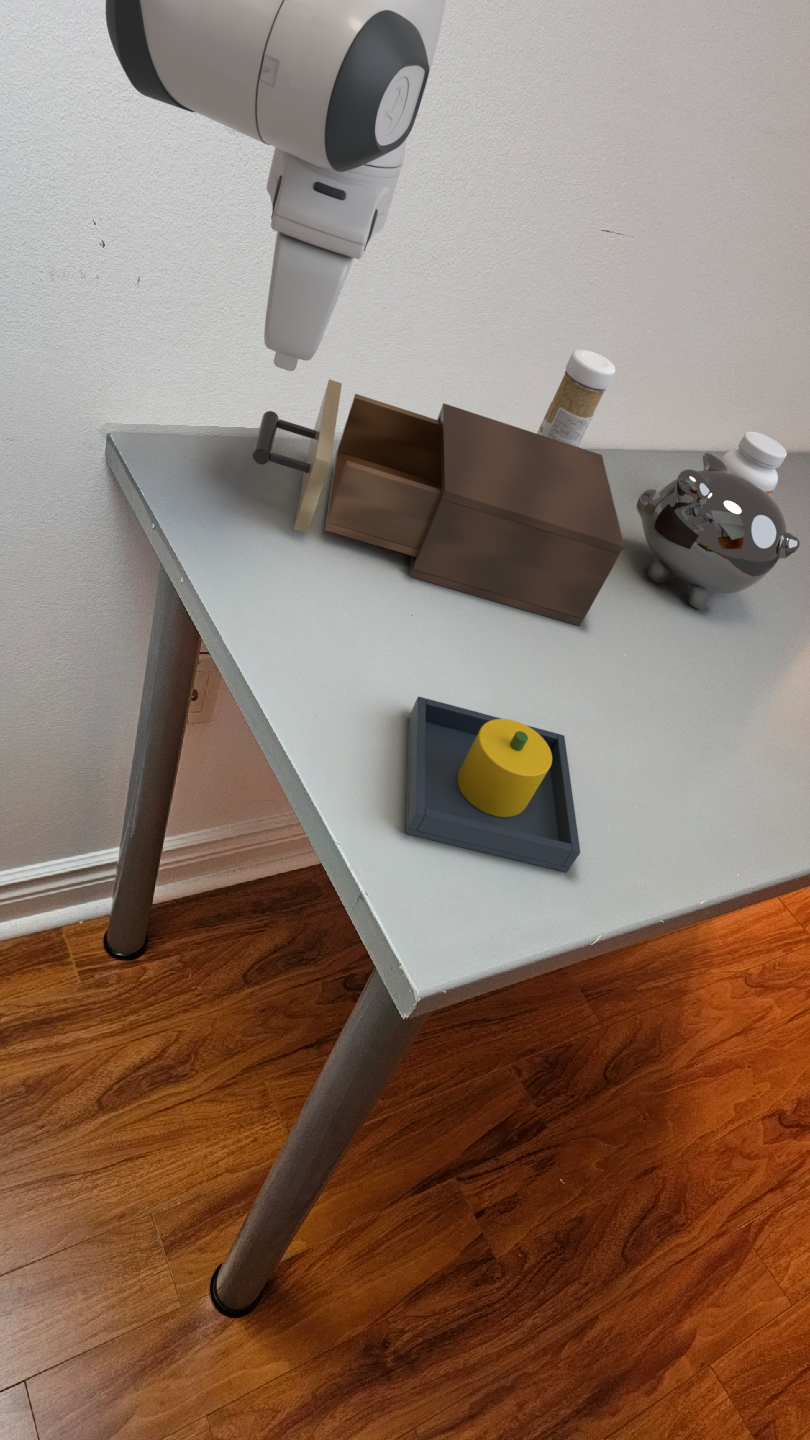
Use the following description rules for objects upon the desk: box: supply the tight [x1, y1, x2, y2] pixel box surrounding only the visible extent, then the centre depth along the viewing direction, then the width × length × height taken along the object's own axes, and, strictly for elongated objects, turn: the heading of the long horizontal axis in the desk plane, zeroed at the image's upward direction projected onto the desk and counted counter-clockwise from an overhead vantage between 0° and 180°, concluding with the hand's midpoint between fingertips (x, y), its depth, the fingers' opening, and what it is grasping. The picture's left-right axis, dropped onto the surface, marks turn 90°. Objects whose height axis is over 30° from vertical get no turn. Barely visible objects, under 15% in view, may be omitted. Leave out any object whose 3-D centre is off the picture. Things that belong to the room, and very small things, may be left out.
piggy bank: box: [635, 452, 801, 610], centre depth 100 cm, size 11×15×12 cm
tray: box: [405, 695, 581, 873], centre depth 72 cm, size 11×11×2 cm
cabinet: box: [409, 402, 625, 626], centre depth 93 cm, size 16×16×9 cm
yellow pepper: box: [457, 718, 552, 817], centre depth 70 cm, size 5×5×5 cm
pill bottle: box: [720, 430, 788, 497], centre depth 110 cm, size 6×6×11 cm
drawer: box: [252, 378, 442, 557], centre depth 91 cm, size 19×14×7 cm
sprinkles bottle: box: [536, 348, 616, 447], centre depth 105 cm, size 5×5×14 cm
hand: (285, 361), depth 84 cm, fingers closed
